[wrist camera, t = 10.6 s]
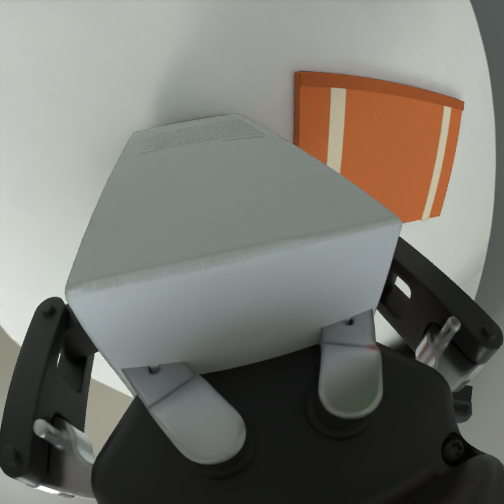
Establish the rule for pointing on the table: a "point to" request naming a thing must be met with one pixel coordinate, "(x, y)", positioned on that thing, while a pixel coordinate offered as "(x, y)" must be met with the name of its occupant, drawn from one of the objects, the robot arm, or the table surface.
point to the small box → (224, 249)
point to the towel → (380, 138)
